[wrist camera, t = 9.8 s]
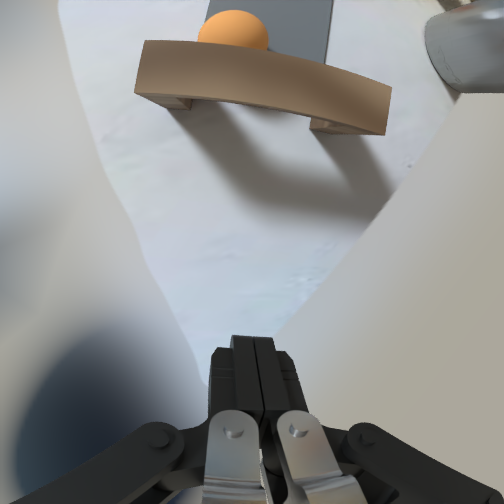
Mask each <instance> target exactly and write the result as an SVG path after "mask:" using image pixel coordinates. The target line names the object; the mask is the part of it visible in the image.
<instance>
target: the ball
mask: <svg viewBox="0 0 504 504" xmlns="http://www.w3.org/2000/svg"><path fill="white" fill-rule="evenodd" d="M198 42H206V43H217V44H226V45H234V46H241V47H248V48H254V49H260V50H266V51H267V48H268V44H269V37H268V32H267V30H266V28H265V26H264V24H263V23H262V22H261V21H260V20H259V19H258V18H257V17H256V16H254V15H252V14H250V13H248V12H245V11H241V10H228V11H223V12H220V13H218V14H215V15H214V16H212V17H211V18H209V19H208V20H207V21H206V22H205V23H204V25H203V26H202V28H201V30H200V32H199V35H198Z"/></svg>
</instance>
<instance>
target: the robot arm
mask: <svg viewBox="0 0 504 504" xmlns="http://www.w3.org/2000/svg"><path fill="white" fill-rule="evenodd" d="M425 43H426V47H427V51H428V53H429V56H430V58H431V61H432V63H433V65H434V66H435V68H436V70H437V71H438V73H439V74H440V76H441V77H442V78H443V79H444V80H445V81H446V82H447V84H449V85H450V86H451V87H452V88H454V89H455V90H457V91H459V92H462V93H504V0H478V1H475V2H472V3H469V4H466V5H463V6H460V7H457V8H454V9H451V10H449V11H446V12H444V13H441V14H439V15H436V16H434V17H432V18H431V19H430V20H429V21H428V22H427V25H426V28H425ZM298 379H299V378H298V375H297V373H296V369H295V365H294V362H293V360H292V359H291V358H290V356H289V355H288V354H287V353H286V352H285V351H276V349H275V345H274V341H273V338H271V337H255V336H253V337H252V336H240V335H232V337H231V342H230V348H222V347H217V349H216V350H215V352H214V353H213V354H212V356H211V365H210V375H209V388H208V390H209V391H208V418H207V420H206V421H205V422H204V423H202V424H201V425H199V426H197V427H194V428H189V429H183V430H178V429H176V428H175V427H174V426H172V425H170V424H167V423H163V422H150V423H147V424H144V425H142V426H141V427H139V428H138V429H136V430H135V431H133V432H132V433H130V434H129V435H127V436H126V437H124V438H123V439H121V440H120V441H118V442H117V443H115V444H114V445H112V446H111V447H109V448H107V449H106V450H104V451H103V452H101V453H100V454H98V455H96V456H95V457H93V458H92V459H90V460H88V461H87V462H85V463H83V464H82V465H80V466H78V467H77V468H75V469H73V470H72V471H70V472H68V473H66V474H65V475H63V476H61V477H59V478H58V479H56V480H54V481H52V482H51V483H49V484H47V485H45V486H43V487H41V488H39V489H38V490H36V491H34V492H32V493H30V494H28V495H26V496H24V497H22V498H20V499H18V500H16V501H14V502H12V503H10V504H166V503H167V502H169V501H170V500H171V499H172V498H173V497H174V496H176V495H177V494H178V493H179V492H180V491H181V490H182V489H186V488H191V487H196V486H200V485H203V494H202V504H267V500H266V494H267V498H268V502H269V504H504V499H503V497H502V495H501V494H500V492H499V491H497V490H495V489H493V488H491V487H489V486H486V485H484V484H482V483H480V482H478V481H476V480H473V479H472V478H470V477H467V476H466V475H464V474H461V473H460V472H458V471H456V470H454V469H451V468H450V467H448V466H446V465H444V464H442V463H440V462H438V461H437V460H435V459H433V458H431V457H429V456H427V455H426V454H424V453H422V452H420V451H418V450H417V449H415V448H413V447H411V446H410V445H408V444H406V443H404V442H403V441H401V440H399V439H398V438H396V437H394V436H393V435H391V434H389V433H387V432H386V431H384V430H383V429H381V428H379V427H378V426H376V425H374V424H371V423H365V422H364V423H358V424H355V425H354V426H352V427H351V428H350V429H349V431H346V430H340V429H334V428H329V427H326V426H323V425H321V424H320V422H319V420H318V419H317V418H316V417H314V416H313V415H312V414H310V413H309V411H308V408H307V405H306V402H305V399H304V395H303V392H302V388H301V385H300V382H299V381H298ZM259 449H262V456H263V458H262V461H261V463H260V456H259ZM260 469H261V473H262V477H263V482H264V486H265V489H264V488H263V487H262V486H261V480H260ZM265 490H266V492H265Z"/></svg>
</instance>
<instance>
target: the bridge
mask: <svg viewBox="0 0 504 504" xmlns="http://www.w3.org/2000/svg"><path fill="white" fill-rule="evenodd" d="M391 91H392V87H390V86H388V85H385V84H382V83H380V82H377V81H375V80H372V79H369V78H366V77H364V76H361V75H358V74H355V73H352V72H349V71H346V70H343V69H339V68H336V67H333V66H329V65H326V64H322V63H319V62H315V61H311V60H307V59H303V58H299V57H295V56H290V55H286V54H281V53H276V52H271V51H266V50H260V49H254V48H248V47H241V46H234V45H226V44H217V43H206V42H193V41H171V40H145V42H144V46H143V50H142V54H141V59H140V64H139V68H138V73H137V79H136V84H135V89H134V93H136V94H138V95H140V96H142V97H144V98H146V99H148V100H150V101H152V102H154V103H156V104H158V105H160V106H162V107H164V108H168V109H182V110H191V105H192V99H202V100H211V101H220V102H228V103H235V104H242V105H249V106H255V107H261V108H267V109H272V110H278V111H283V112H288V113H293V114H297V115H302V116H306V117H311V122H310V128H309V129H312V130H317V131H321V132H325V133H329V134H356V135H383V136H385V132H386V126H387V119H388V113H389V106H390V99H391Z"/></svg>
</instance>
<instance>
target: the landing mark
mask: <svg viewBox="0 0 504 504" xmlns="http://www.w3.org/2000/svg"><path fill="white" fill-rule="evenodd" d="M331 6H332V0H210V3H209V7H208V11H207V15H206V19H205V22H206V21H207V20H208V19H209V18H211V17H212V16H214V15H215V14H218V13H220V12H223V11H228V10H241V11H245V12H248V13H250V14H252V15H254V16H256V17H257V18H258V19H259V20H260V21H261V22H262V23H263V24H264V26H265V28H266V30H267V32H268V37H269V44H268V48H267V51H271V52H276V53H281V54H286V55H290V56H295V57H299V58H303V59H307V60H311V61H315V62H319V63H322V64H324V58H325V51H326V44H327V37H328V30H329V22H330V14H331Z"/></svg>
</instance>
